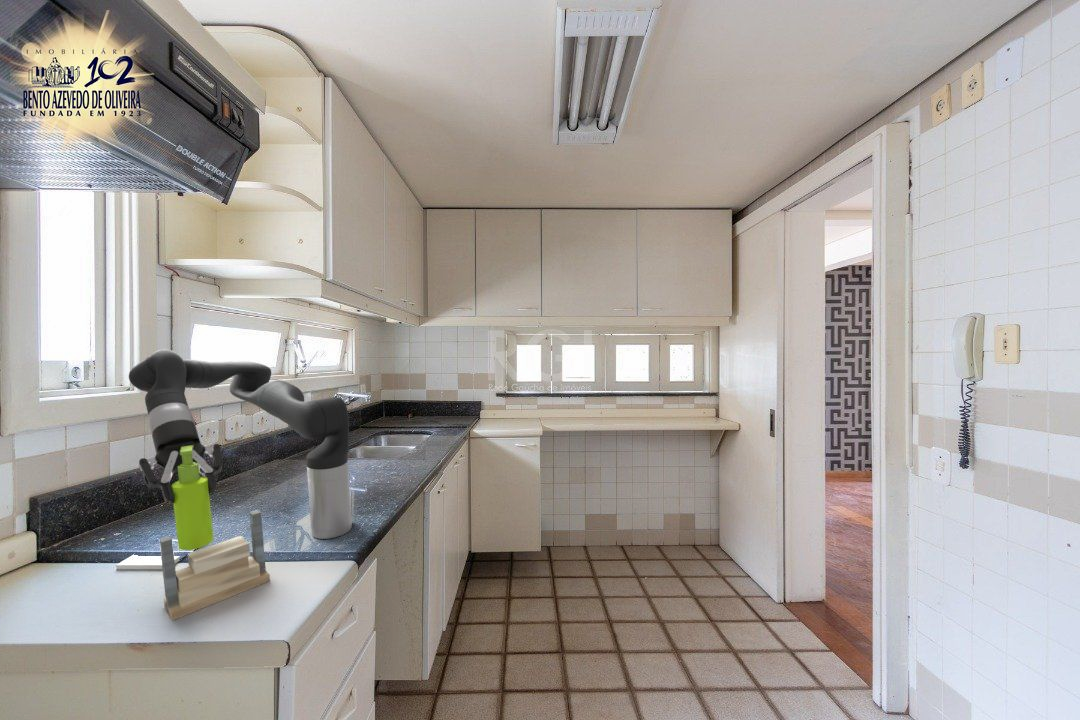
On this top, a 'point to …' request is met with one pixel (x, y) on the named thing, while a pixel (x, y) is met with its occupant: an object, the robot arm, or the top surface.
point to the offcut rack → (213, 571)
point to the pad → (143, 562)
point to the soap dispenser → (191, 504)
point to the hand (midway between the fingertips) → (192, 496)
